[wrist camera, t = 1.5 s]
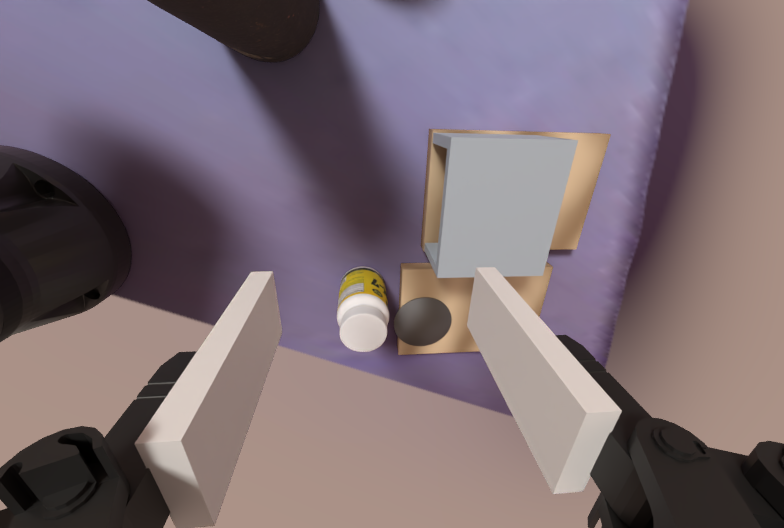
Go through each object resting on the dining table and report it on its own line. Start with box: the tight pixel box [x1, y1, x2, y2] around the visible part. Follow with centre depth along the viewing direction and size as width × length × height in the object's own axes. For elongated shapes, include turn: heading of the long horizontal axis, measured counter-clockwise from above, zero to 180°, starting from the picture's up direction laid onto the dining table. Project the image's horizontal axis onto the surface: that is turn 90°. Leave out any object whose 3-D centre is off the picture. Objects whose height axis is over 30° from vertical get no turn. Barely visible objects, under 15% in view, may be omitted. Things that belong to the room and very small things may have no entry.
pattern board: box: [421, 129, 611, 251], centre depth 29 cm, size 16×11×4 cm
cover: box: [424, 133, 578, 278], centre depth 26 cm, size 9×11×6 cm
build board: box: [394, 262, 553, 355], centre depth 35 cm, size 17×11×2 cm, turn 89°
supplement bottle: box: [337, 266, 389, 352], centre depth 30 cm, size 5×5×8 cm
